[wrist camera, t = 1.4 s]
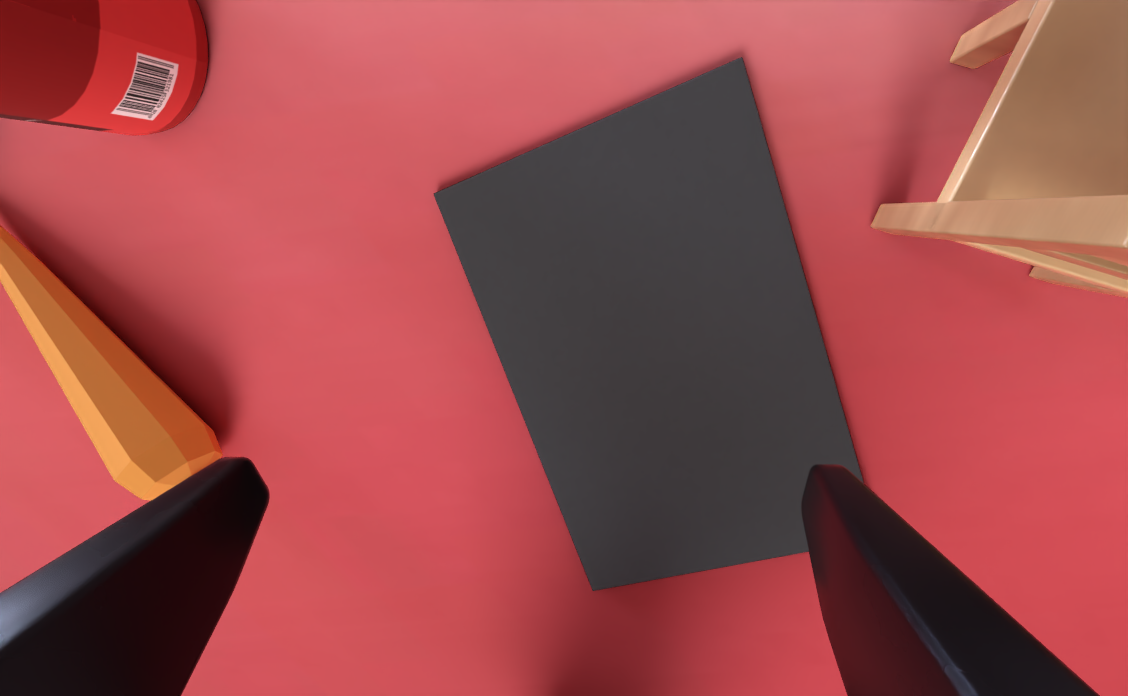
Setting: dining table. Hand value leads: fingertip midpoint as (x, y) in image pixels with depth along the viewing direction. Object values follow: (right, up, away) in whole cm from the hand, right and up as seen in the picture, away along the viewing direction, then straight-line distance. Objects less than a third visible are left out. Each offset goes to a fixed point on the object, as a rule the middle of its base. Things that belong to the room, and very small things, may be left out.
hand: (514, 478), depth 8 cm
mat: (+5, +1, +14) cm, 15 cm away
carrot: (-27, +5, +18) cm, 33 cm away
